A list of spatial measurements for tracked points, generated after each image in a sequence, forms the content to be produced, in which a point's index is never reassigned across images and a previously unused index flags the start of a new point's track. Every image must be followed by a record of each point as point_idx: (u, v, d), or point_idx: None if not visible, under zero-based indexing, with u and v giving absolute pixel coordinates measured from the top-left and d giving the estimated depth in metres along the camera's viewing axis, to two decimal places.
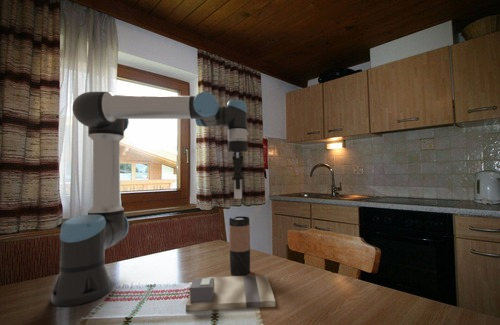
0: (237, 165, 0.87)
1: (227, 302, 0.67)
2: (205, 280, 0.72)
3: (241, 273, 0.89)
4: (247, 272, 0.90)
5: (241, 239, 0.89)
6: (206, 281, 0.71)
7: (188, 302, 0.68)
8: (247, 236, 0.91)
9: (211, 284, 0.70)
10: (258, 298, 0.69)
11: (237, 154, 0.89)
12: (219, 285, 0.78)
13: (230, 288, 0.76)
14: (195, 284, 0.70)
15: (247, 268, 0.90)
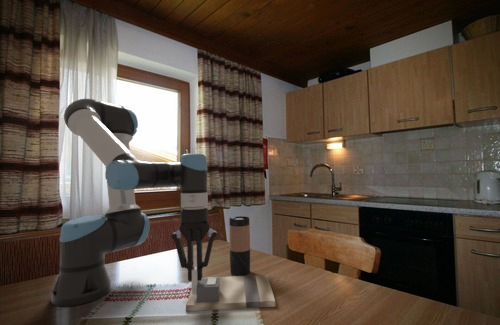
0: None
1: (227, 302, 0.67)
2: (211, 280, 0.72)
3: (241, 273, 0.89)
4: (247, 272, 0.90)
5: (241, 239, 0.89)
6: (212, 281, 0.71)
7: (188, 302, 0.68)
8: (247, 236, 0.91)
9: (217, 284, 0.70)
10: (258, 298, 0.69)
11: None
12: None
13: (230, 288, 0.76)
14: (201, 284, 0.70)
15: (247, 268, 0.90)
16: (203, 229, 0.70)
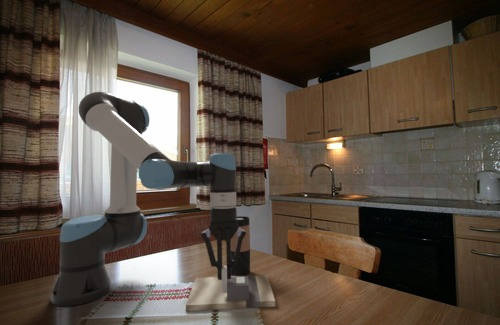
0: None
1: (227, 302, 0.67)
2: (240, 278, 0.72)
3: (241, 273, 0.89)
4: (247, 272, 0.90)
5: None
6: (241, 279, 0.72)
7: (188, 302, 0.68)
8: (247, 236, 0.91)
9: (247, 282, 0.70)
10: (258, 298, 0.69)
11: None
12: (219, 285, 0.78)
13: None
14: (230, 282, 0.70)
15: (247, 268, 0.90)
16: (232, 228, 0.71)
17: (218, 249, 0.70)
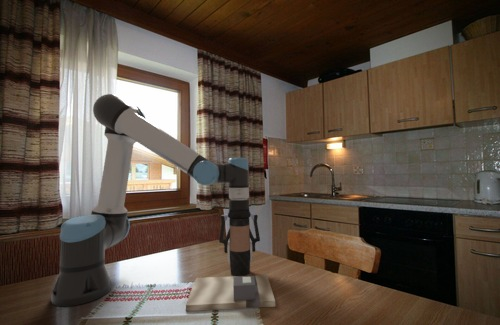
0: None
1: (227, 302, 0.67)
2: (246, 278, 0.72)
3: (241, 273, 0.89)
4: (247, 272, 0.90)
5: (241, 239, 0.89)
6: (247, 279, 0.72)
7: (188, 302, 0.68)
8: (247, 236, 0.91)
9: (253, 282, 0.70)
10: (258, 298, 0.69)
11: (221, 217, 0.93)
12: (219, 285, 0.78)
13: (230, 288, 0.76)
14: (237, 282, 0.71)
15: (247, 268, 0.90)
16: (246, 216, 0.92)
17: None
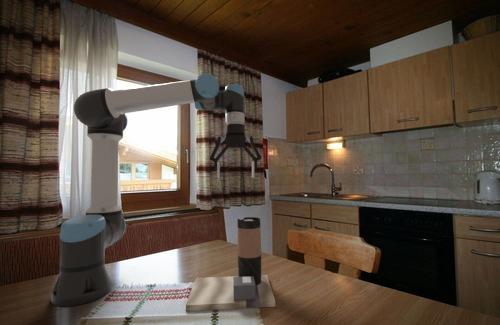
0: (214, 149, 0.98)
1: (227, 302, 0.67)
2: (246, 278, 0.72)
3: None
4: (258, 281, 0.78)
5: (251, 244, 0.77)
6: (247, 279, 0.72)
7: (188, 302, 0.68)
8: (258, 240, 0.79)
9: (253, 282, 0.70)
10: (258, 298, 0.69)
11: (218, 138, 0.98)
12: (219, 285, 0.78)
13: (230, 288, 0.76)
14: (237, 282, 0.71)
15: (258, 277, 0.78)
16: (242, 139, 0.98)
17: (223, 150, 0.97)
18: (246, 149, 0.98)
